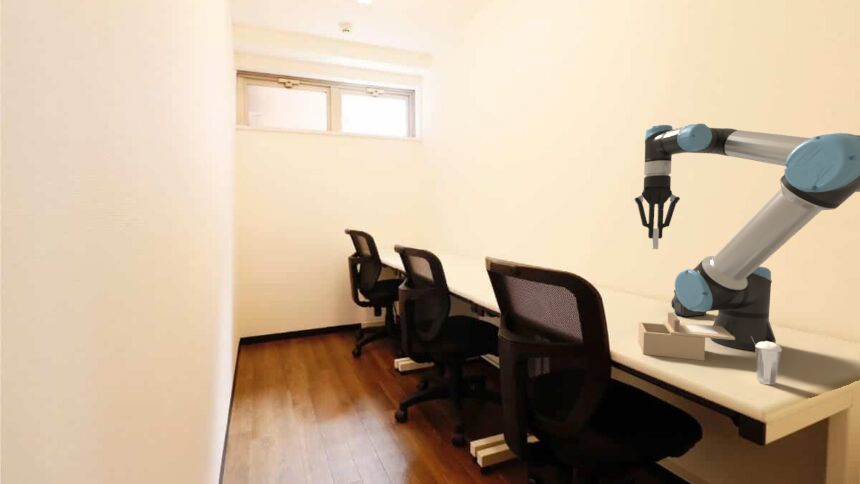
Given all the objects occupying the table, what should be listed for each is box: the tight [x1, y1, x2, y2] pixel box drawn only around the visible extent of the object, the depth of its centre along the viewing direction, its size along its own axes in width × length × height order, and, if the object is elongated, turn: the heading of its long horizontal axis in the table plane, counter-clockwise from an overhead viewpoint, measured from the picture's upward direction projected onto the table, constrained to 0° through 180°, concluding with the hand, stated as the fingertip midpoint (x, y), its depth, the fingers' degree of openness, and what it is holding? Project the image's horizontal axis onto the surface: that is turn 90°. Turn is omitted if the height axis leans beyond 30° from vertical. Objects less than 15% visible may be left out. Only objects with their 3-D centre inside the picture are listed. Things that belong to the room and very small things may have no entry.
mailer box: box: [637, 321, 706, 361], centre depth 111 cm, size 14×11×6 cm
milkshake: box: [751, 336, 783, 386], centre depth 90 cm, size 4×5×10 cm
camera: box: [670, 289, 708, 318], centre depth 150 cm, size 13×10×10 cm
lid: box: [662, 312, 735, 340], centre depth 108 cm, size 14×11×4 cm
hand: (654, 248), depth 131 cm, fingers closed
